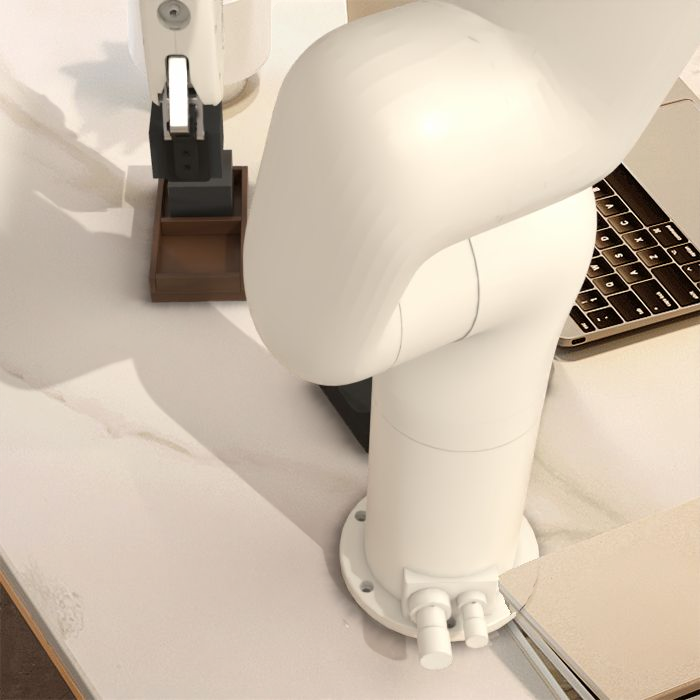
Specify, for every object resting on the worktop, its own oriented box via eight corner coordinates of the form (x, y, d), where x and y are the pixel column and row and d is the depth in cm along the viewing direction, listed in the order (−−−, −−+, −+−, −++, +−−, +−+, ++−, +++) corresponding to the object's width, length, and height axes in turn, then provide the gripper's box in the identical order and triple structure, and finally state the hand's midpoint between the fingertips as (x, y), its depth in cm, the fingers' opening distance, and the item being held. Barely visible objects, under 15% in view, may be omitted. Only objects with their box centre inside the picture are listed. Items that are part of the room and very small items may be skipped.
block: (222, 178, 92) (220, 132, 89) (152, 178, 92) (148, 133, 89) (223, 138, 96) (221, 92, 93) (156, 138, 95) (152, 93, 93)
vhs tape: (541, 388, 92) (544, 369, 91) (367, 455, 87) (368, 435, 86) (485, 325, 97) (488, 306, 96) (318, 385, 92) (318, 366, 90)
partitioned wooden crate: (247, 300, 98) (245, 250, 95) (151, 302, 98) (145, 252, 95) (248, 189, 109) (246, 140, 105) (161, 190, 108) (156, 141, 105)
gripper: (230, -12, 75) (239, 228, 88) (234, -136, 87) (242, 91, 100) (101, -12, 75) (130, 229, 87) (124, -137, 87) (146, 91, 99)
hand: (190, 153), depth 93 cm, fingers closed on block, 5 cm apart
